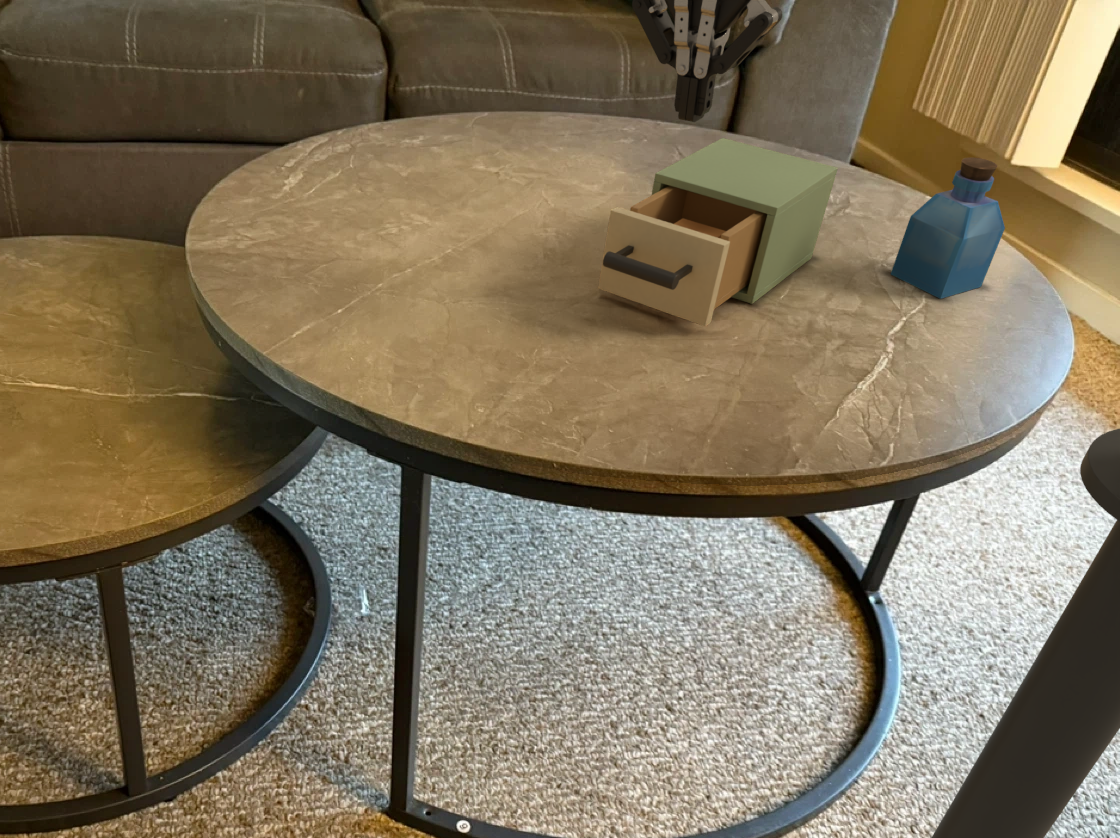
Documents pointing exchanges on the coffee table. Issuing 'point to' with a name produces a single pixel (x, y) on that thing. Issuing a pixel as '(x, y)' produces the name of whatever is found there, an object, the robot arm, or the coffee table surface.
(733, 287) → the drawer
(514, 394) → the coffee table surface
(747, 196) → the cabinet
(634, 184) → the coffee table surface
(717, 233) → the block
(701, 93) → the robot arm
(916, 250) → the perfume bottle
